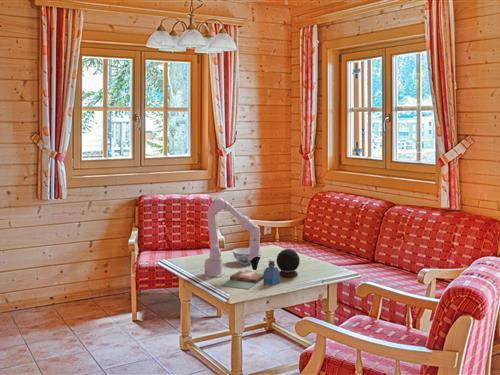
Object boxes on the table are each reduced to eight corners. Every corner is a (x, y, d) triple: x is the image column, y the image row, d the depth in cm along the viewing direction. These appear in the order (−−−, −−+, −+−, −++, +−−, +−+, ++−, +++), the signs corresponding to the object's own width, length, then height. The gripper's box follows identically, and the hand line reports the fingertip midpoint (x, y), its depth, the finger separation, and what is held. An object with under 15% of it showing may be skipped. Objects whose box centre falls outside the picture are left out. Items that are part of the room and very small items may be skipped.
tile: (239, 276, 305) (239, 274, 305) (245, 272, 313) (245, 270, 313) (249, 278, 303) (249, 275, 302) (255, 273, 311) (255, 271, 311)
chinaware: (228, 264, 338) (228, 251, 337) (240, 258, 351) (240, 246, 350) (250, 267, 331) (250, 254, 330) (261, 261, 344) (261, 249, 343)
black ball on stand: (302, 277, 310) (302, 251, 308) (279, 279, 308) (279, 252, 306) (296, 271, 323) (296, 246, 321) (274, 272, 321) (274, 247, 319)
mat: (221, 285, 296) (221, 284, 296) (229, 280, 305) (229, 279, 305) (248, 289, 290) (248, 288, 289) (256, 283, 299) (256, 283, 299)
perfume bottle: (272, 285, 296) (272, 263, 295) (263, 283, 300) (263, 261, 299) (279, 283, 301) (279, 261, 299) (270, 280, 305) (270, 259, 303)
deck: (229, 280, 306) (229, 276, 306) (239, 274, 317) (239, 271, 316) (256, 283, 300) (256, 280, 299) (265, 277, 310) (265, 274, 310)
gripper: (256, 249, 307) (256, 273, 309) (265, 244, 320) (265, 267, 322) (244, 248, 310) (244, 272, 311) (254, 243, 323) (254, 265, 325)
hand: (254, 269), depth 317 cm, fingers closed
